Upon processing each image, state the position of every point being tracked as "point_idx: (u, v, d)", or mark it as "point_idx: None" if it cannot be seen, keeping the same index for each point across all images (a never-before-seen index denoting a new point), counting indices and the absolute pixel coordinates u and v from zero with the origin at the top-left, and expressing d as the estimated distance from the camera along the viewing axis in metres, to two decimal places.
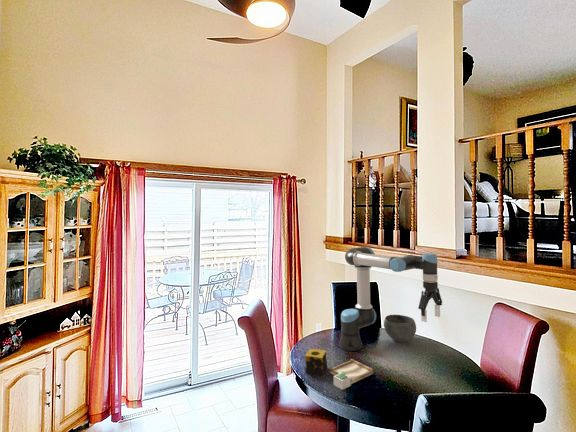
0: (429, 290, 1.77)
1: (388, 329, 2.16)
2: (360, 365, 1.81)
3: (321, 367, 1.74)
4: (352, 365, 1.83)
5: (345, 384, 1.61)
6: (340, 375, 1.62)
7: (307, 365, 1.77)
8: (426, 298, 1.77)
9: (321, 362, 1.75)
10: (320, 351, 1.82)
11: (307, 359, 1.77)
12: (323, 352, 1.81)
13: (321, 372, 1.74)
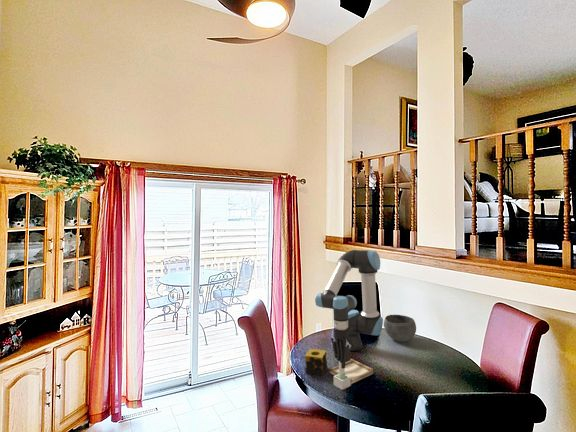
0: None
1: (388, 329, 2.16)
2: (360, 365, 1.81)
3: (321, 367, 1.74)
4: (352, 365, 1.83)
5: (345, 384, 1.61)
6: (340, 376, 1.62)
7: (307, 365, 1.77)
8: None
9: (321, 362, 1.75)
10: (320, 351, 1.82)
11: (307, 359, 1.77)
12: (323, 352, 1.81)
13: (321, 372, 1.74)
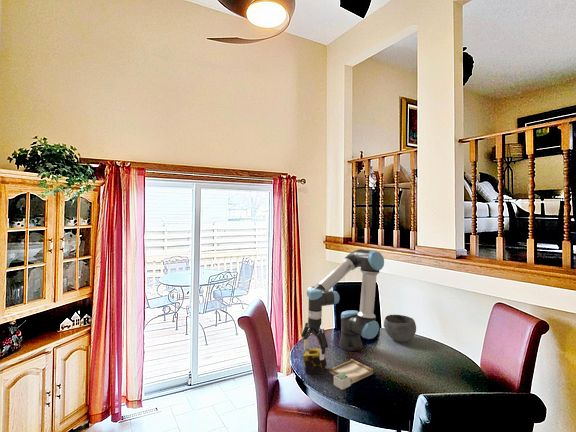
0: (310, 324, 1.82)
1: (388, 329, 2.16)
2: (360, 365, 1.81)
3: (320, 365, 1.75)
4: (352, 365, 1.83)
5: (345, 384, 1.61)
6: (340, 377, 1.62)
7: (306, 365, 1.77)
8: None
9: (319, 360, 1.75)
10: (318, 349, 1.83)
11: (305, 358, 1.77)
12: None
13: (320, 370, 1.74)
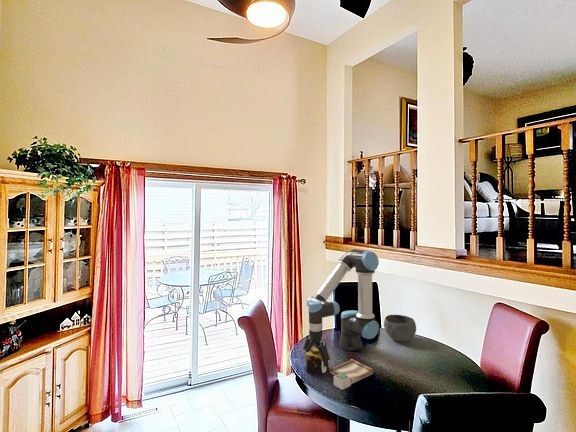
0: (311, 336, 1.82)
1: (388, 329, 2.16)
2: (360, 365, 1.81)
3: (321, 366, 1.75)
4: (352, 365, 1.83)
5: (345, 384, 1.61)
6: (340, 377, 1.62)
7: (307, 364, 1.78)
8: None
9: (321, 361, 1.75)
10: None
11: (307, 358, 1.78)
12: None
13: (321, 371, 1.75)
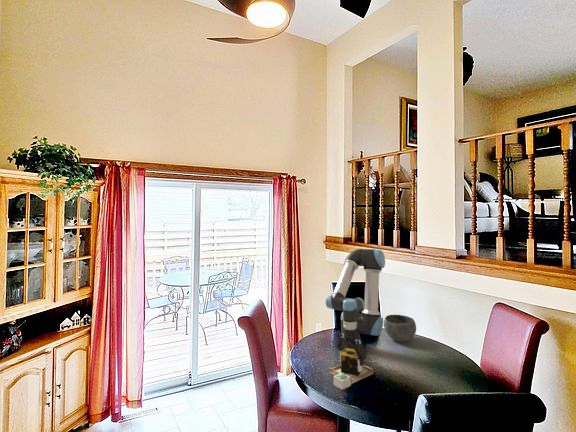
0: None
1: (388, 329, 2.16)
2: None
3: (356, 367, 1.71)
4: None
5: (345, 384, 1.61)
6: (340, 377, 1.62)
7: (342, 364, 1.75)
8: None
9: (356, 362, 1.71)
10: None
11: (342, 358, 1.75)
12: None
13: (356, 372, 1.71)
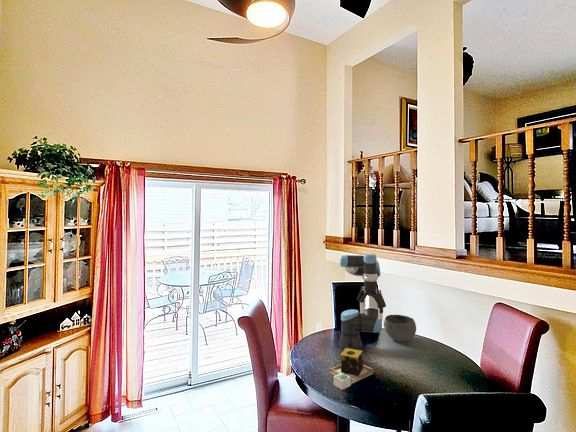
0: (365, 287, 1.92)
1: (388, 329, 2.16)
2: None
3: (356, 367, 1.71)
4: None
5: (345, 384, 1.61)
6: (340, 377, 1.62)
7: (342, 364, 1.75)
8: None
9: (356, 362, 1.71)
10: (356, 351, 1.79)
11: (342, 358, 1.75)
12: (359, 352, 1.77)
13: (356, 372, 1.71)
